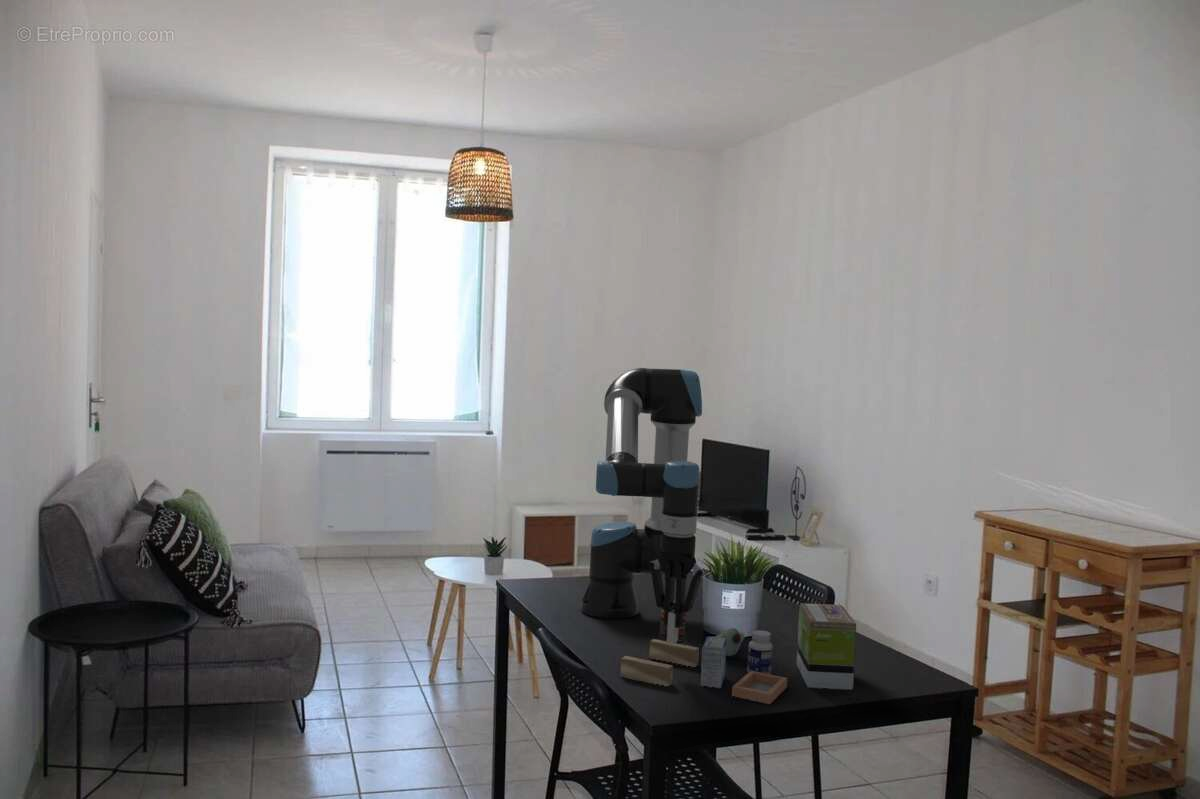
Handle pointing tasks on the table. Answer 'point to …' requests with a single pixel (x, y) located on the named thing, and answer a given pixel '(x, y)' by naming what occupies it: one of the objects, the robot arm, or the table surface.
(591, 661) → the table surface
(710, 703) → the table surface
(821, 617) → the tea box
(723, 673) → the medicine box
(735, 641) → the pale green rounded piece
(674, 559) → the robot arm
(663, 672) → the parallel beige slabs
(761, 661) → the pill bottle
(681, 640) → the supplement bottle
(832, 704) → the table surface
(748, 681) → the tray
